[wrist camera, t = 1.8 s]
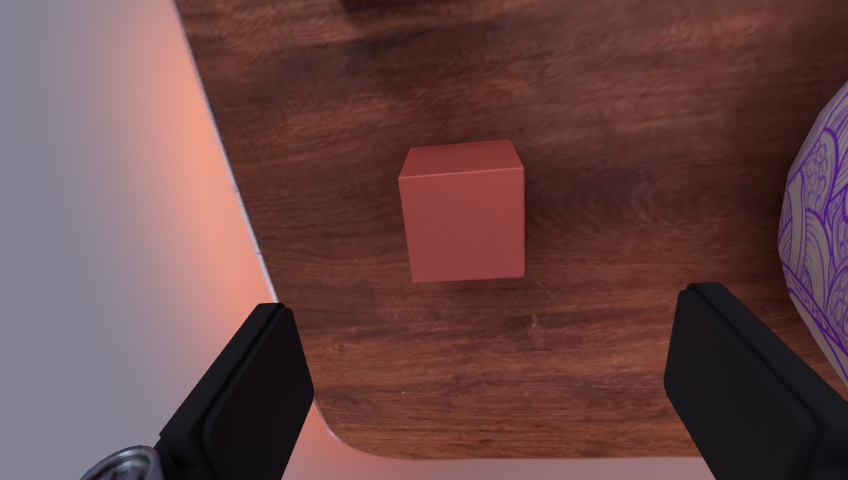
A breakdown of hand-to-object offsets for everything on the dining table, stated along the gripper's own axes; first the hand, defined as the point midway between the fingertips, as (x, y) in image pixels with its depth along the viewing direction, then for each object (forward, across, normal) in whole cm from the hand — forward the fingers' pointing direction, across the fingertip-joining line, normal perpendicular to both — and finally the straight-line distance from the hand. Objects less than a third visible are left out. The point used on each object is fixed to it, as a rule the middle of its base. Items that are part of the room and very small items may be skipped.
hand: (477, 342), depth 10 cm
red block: (+11, 0, 0) cm, 11 cm away
